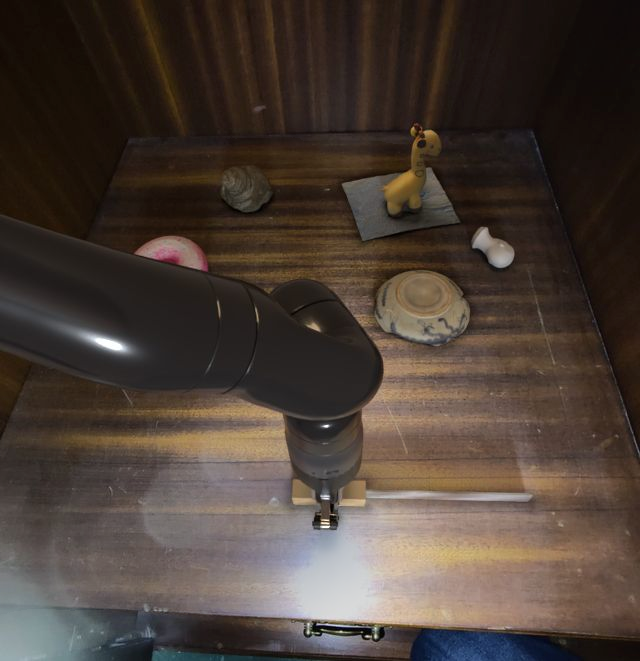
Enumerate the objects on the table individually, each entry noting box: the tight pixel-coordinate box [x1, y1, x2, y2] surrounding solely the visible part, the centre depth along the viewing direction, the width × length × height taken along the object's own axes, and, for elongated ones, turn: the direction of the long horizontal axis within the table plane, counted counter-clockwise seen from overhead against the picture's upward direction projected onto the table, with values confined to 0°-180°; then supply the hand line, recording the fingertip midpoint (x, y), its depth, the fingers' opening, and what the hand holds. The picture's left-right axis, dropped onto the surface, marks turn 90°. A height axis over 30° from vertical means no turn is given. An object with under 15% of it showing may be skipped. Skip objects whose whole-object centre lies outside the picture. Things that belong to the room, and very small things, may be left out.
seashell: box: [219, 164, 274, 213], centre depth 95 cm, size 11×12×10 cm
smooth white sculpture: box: [470, 226, 515, 269], centre depth 86 cm, size 4×8×5 cm
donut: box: [133, 235, 210, 272], centre depth 85 cm, size 14×13×5 cm
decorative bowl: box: [373, 269, 471, 347], centre depth 80 cm, size 15×4×15 cm
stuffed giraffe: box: [341, 123, 461, 242], centre depth 90 cm, size 16×18×16 cm
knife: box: [291, 478, 534, 507], centre depth 64 cm, size 29×2×3 cm, turn 88°
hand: (329, 495), depth 65 cm, fingers open, 3 cm apart
